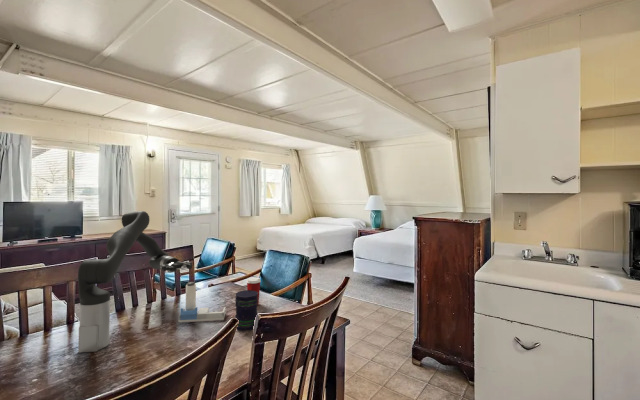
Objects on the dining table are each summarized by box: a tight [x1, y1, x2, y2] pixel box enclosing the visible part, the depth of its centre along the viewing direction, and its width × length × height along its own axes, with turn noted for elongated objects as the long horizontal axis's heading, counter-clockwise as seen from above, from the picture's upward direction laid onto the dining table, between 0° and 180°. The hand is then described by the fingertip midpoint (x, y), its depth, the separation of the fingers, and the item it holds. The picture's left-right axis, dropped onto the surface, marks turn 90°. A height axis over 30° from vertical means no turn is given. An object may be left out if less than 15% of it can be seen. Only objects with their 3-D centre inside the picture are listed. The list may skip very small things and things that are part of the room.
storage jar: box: [235, 290, 259, 332], centre depth 134 cm, size 10×10×15 cm
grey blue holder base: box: [178, 306, 227, 323], centre depth 143 cm, size 8×20×6 cm, turn 101°
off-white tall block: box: [185, 281, 197, 311], centre depth 142 cm, size 5×5×16 cm
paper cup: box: [245, 277, 262, 305], centre depth 162 cm, size 8×8×14 cm
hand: (182, 268), depth 149 cm, fingers open, 8 cm apart
